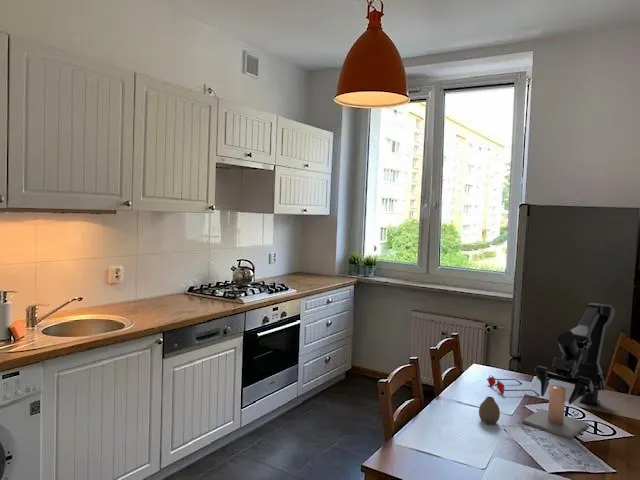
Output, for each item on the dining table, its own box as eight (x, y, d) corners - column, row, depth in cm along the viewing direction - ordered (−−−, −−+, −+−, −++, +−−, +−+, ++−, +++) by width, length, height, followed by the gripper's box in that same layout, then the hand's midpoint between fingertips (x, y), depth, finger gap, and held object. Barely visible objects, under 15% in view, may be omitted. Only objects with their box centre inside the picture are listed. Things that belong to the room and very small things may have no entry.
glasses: (485, 385, 217) (486, 373, 217) (522, 384, 220) (522, 373, 219) (501, 397, 204) (502, 384, 203) (540, 396, 206) (541, 384, 206)
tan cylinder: (545, 417, 180) (548, 384, 180) (560, 419, 180) (563, 385, 179) (550, 423, 175) (552, 389, 175) (565, 425, 175) (567, 390, 174)
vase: (500, 427, 173) (502, 402, 172) (479, 425, 174) (480, 400, 174) (497, 419, 180) (499, 395, 179) (477, 417, 181) (478, 393, 180)
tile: (541, 411, 189) (541, 408, 189) (588, 425, 177) (588, 423, 177) (522, 422, 178) (522, 419, 178) (570, 438, 166) (570, 435, 166)
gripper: (538, 343, 185) (522, 379, 178) (593, 355, 172) (578, 395, 165) (545, 361, 191) (530, 396, 184) (599, 374, 178) (586, 412, 171)
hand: (555, 399), depth 176 cm, fingers open, 9 cm apart
